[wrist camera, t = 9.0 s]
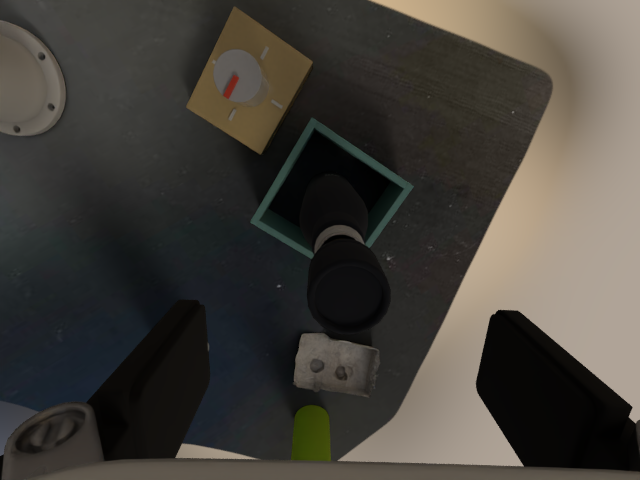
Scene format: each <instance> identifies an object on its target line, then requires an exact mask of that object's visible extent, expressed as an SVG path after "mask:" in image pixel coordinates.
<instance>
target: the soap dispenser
mask: <svg viewBox="0 0 640 480" xmlns="http://www.w3.org/2000/svg"><path fill="white" fill-rule="evenodd" d="M291 460H306V461H331V456H330V429H329V415H328V413H327V412H326V410H324V409H323V408H322V407H319V406H316V405H308V406H304V407H302V408H300V409H299V410H298V411H297V413H296V415H295V420H294V432H293V443H292V455H291Z"/></svg>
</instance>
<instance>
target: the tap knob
mask: <svg viewBox="0 0 640 480" xmlns="http://www.w3.org/2000/svg"><path fill="white" fill-rule="evenodd" d="M213 77H214V82H215V85H216V87H217V89H218V91H219V92H220V93H221V94H222V95H223V96H224V97H225V98H227V99H228V100H230V101H232V102H235V103H237V104H239V105H241V106H244V107H255V106H257V105H259V104H261V103H262V102H263V101H264V100H265V98H266V96H267V94H268V91H269V81H268V77H267V75H266V73H265V71H264V70H263V69H262V67H261V66H260V65H259V63H258V62H257V61H256V59H255V58H254V57H253V56H252V55H251V54H249V53H248V52H246V51H244V50H240V49H231V50H228V51H226V52H224V53H223V54H221V55H220V56H219V58H218V59H217V61H216V63H215V65H214V70H213Z"/></svg>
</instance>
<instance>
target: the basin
mask: <svg viewBox="0 0 640 480" xmlns="http://www.w3.org/2000/svg"><path fill="white" fill-rule="evenodd" d="M314 131H316V132H318V133H319V134H321V135H322V136H324V137H325V138H327V139H328V140H330V141H331V142H333V143H334V144H336V145H337V146H339V147H340V148H342V149H343V150H345V151H346V152H348V153H349V154H351V155H352V156H354V157H355V158H357V159H358V160H360V161H361V162H363V163H364V164H366V165H367V166H369V167H370V168H372V169H373V170H375V171H376V172H377V173H379V174H380V175H382V176H383V177H385V178H386V179H388V180H389V181H391V182H390V183H389V185H388V186H387V188H386V189H385V191H384V192H383V193H382V195H381V196H380V198H379V199H378V201H377V202H376V204H375V205H374V206H373V208H372V209H371V211H370V212H369V214H368V228H367V231H366V235H365V243H366V246H368V247H369V248H370V247H371V245H372V244H373V242H374V241H375V240H376V238H377V237H378V235H379V234H380V233H381V231H382V230H383V228H384V227H385V226H386V224H387V223H388V222H389V220H390V219H391V217H392V216H393V215H394V213H395V212H396V210H397V209H398V208H399V206H400V205H401V203H402V202H403V201H404V199H405V198H406V197H407V195H408V194H409V192H410V191H411V190H412V188H413V187H414V186H413V185H411V184H410V183H408V182H407V181H405V180H404V179H402V178H401V177H399V176H398V175H396V174H395V173H393V172H392V171H390V170H389V169H388V168H386V167H385V166H383V165H382V164H380V163H379V162H377V161H376V160H374V159H373V158H371V157H370V156H368V155H367V154H365V153H364V152H362V151H361V150H360V149H358V148H357V147H355V146H354V145H352V144H351V143H349V142H348V141H346V140H345V139H343V138H342V137H340V136H339V135H337V134H336V133H334V132H333V131H332V130H330V129H329V128H327V127H326V126H324V125H323V124H321V123H320V122H318V121H317V120H315V119H314V118H311V119H310V121H309V123H308V125H307V126H306V128H305V130H304V131H303V133H302V135H301V136H300V138H299V140H298V142H297V143H296V145H295V147H294V148H293V150H292V152H291V153H290V155H289V157H288V158H287V160H286V162H285V164H284V165H283V167H282V169H281V170H280V172H279V174H278V175H277V177H276V179H275V181H274V182H273V184H272V186H271V187H270V189H269V191H268V192H267V194H266V196H265V198H264V199H263V201H262V203H261V204H260V206H259V208H258V209H257V211H256V213H255V214H254V216H253V218H252V220H251V221H250V223H252V224H254V225H255V226H257V227H259V228H260V229H262V230H264V231H265V232H267V233H269V234H270V235H272V236H274V237H275V238H277V239H279V240H281V241H282V242H284V243H286V244H287V245H289V246H291V247H292V248H294V249H296V250H297V251H299V252H301V253H302V254H304V255H306V256H307V257H309V258H311V259H312V258H313V256H314V254H313V252H312V247H311V246H310V245H309V244H308V243H307V241H306V240H305V238H304V235H303V233H302V231H301V228H299V227H298V226H296V225H295V224H293V223H291V222H290V221H288V220H286V219H285V218H283V217H281V216H280V215H278V214H276V213H275V212H273V211H272V210H270V209H268V208H269V206H270V205H271V203H272V201H273V200H274V198H275V196H276V195H277V193H278V191H279V190H280V188H281V186H282V185H283V183H284V181H285V180H286V178H287V176H288V175H289V173H290V171H291V170H292V168H293V166H294V165H295V163H296V161H297V160H298V158H299V156H300V155H301V153H302V151H303V150H304V148H305V146H306V145H307V143H308V141H309V140H310V138H311V136H312V135H313V133H314Z"/></svg>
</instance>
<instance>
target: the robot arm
mask: <svg viewBox="0 0 640 480" xmlns="http://www.w3.org/2000/svg"><path fill="white" fill-rule="evenodd" d="M65 101H66V88H65V82H64V77H63V75H62V72H61V69H60V67H59V65H58V63H57V61H56V59H55V57H54V56H53V54H52V53H51V52H50V50H49V49H48V48H47V47H46V46H45V45H44V43H43V42H42V41H41V40H40V39H39V38H37V37H36V36H34V35H33V34H32V33H30V32H29V31H27V30H25V29H23V28H21V27H19V26H17V25H14V24H12V23H9V22H6V21H1V20H0V132H3V133H6V134H10V135H17V136H33V135H37V134H41V133H43V132H45V131H47V130H49V129H50V128H51V127H53V126H54V125H55V124H56V122H57V121H58V120H59V118H60V117H61V115H62V112H63V110H64V106H65ZM209 380H210V366H209V353H208V340H207V327H206V314H205V307H204V305H200V303H199V301H198V300H178V301H177V302H176V303H175V304H174V305H173V307H172V308H171V309H170V310H169V311H168V312H167V313H166V314H165V316H164V317H163V318H162V319H161V320H160V321H159V322H158V323H157V324H156V326H155V327H154V328H153V329H152V330H151V331H150V332H149V333H148V334H147V336H146V337H145V338H144V339H143V340H142V341H141V342H140V343H139V344H138V345H137V347H136V348H135V349H134V350H133V351H132V352H131V353H130V354H129V355H128V357H127V358H126V359H125V360H124V361H123V362H122V363H121V364H120V366H119V367H118V368H117V369H116V370H115V371H114V372H113V373H112V374H111V376H110V377H109V378H108V379H107V380H106V381H105V382H104V383H103V384H102V386H101V387H100V388H99V389H98V390H97V391H96V392H95V393H94V394H93V396H92V397H91V398H90V399H89V400H88V401H87V402H86V403H85V402H67V403H62V404H59V405H55V406H52V407H50V408H47V409H45V410H43V411H41V412H39V413H37V414H35V415H34V416H32V417H31V418H29V419H27V420H26V421H25V422H23V423H22V424H21V425H20V426H19V427H18V428H16V429H15V431H14V432H13V433H12V434H11V436H10V437H9V438H8V440H7V443H6V445H5V449H4V455H2V456H0V480H640V420H638V421H637V423H634V422H633V421H632V420H631V419H630V418H629V415H630V412H631V410H632V406H631V405H630V404H628V403H627V402H626V401H625V400H624V399H622V398H621V397H620V396H619V395H618V394H617V393H615V392H614V391H613V390H612V389H611V388H609V387H608V386H607V385H606V384H605V383H604V382H602V381H601V380H600V379H599V378H598V377H596V376H595V375H594V374H593V373H592V372H590V371H589V370H588V369H587V368H586V367H585V366H583V365H582V364H581V363H580V362H579V361H577V360H576V359H575V358H574V357H573V356H572V355H570V354H569V353H568V352H567V351H566V350H564V349H563V348H562V347H561V346H560V345H558V344H557V343H556V342H555V341H554V340H553V339H551V338H550V337H549V336H548V335H547V334H545V333H544V332H543V331H542V330H541V329H540V328H538V327H537V326H536V325H535V324H534V323H532V322H531V321H530V320H529V319H527V318H526V317H525V316H524V315H523V314H522V313H520V312H519V311H512V310H498V311H497V312H496V314H493V315H492V316H491V318H490V321H489V326H488V330H487V334H486V339H485V344H484V348H483V353H482V357H481V362H480V366H479V372H478V376H477V380H476V388H477V392H478V394H479V396H480V397H481V399H482V401H483V402H484V404H485V405H486V407H487V408H488V410H489V412H490V413H491V415H492V416H493V418H494V420H495V421H496V423H497V424H498V426H499V428H500V429H501V431H502V432H503V434H504V435H505V437H506V439H507V440H508V442H509V443H510V445H511V447H512V448H513V449H514V451H515V453H516V454H517V456H518V458H519V459H520V461H521V462H522V464H523V465H524V467H521V466H491V465H461V464H426V463H389V462H350V461H306V460H256V459H199V458H198V459H197V458H194V459H193V458H192V459H191V458H175V457H176V455H177V453H178V450H179V449H180V446H181V444H182V442H183V440H184V438H185V435H186V433H187V431H188V429H189V427H190V424H191V422H192V420H193V418H194V416H195V414H196V411H197V409H198V407H199V405H200V403H201V400H202V398H203V396H204V394H205V392H206V390H207V387H208V385H209Z"/></svg>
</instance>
